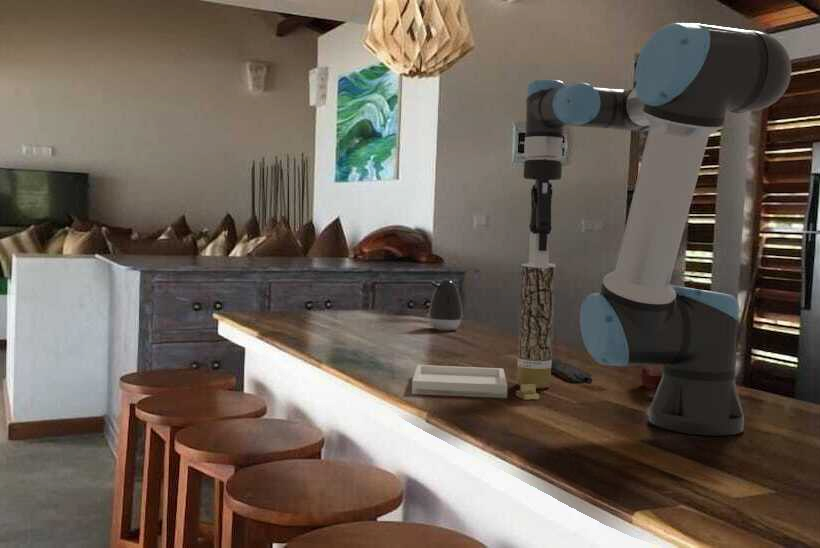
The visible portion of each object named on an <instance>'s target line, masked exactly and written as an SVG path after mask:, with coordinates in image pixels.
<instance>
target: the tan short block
mask: <svg viewBox="0 0 820 548" xmlns="http://www.w3.org/2000/svg"><path fill="white" fill-rule="evenodd" d="M515 395H516V397H518V398H520V399H522V400H524V401H525V400H528V401H529V400H531V399H532V400H533V399H534V400H539V399H540V394H539V393H537V389H536V384H520V386H519V390H515ZM532 400H531V401H532Z"/></svg>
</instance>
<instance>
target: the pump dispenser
mask: <svg viewBox="0 0 820 548" xmlns="http://www.w3.org/2000/svg"><path fill="white" fill-rule="evenodd" d="M430 286H432V287H434V288H435V289H434V292H433V293H432V296H431V300H430V305H429V310H428V318H429V322H430V324H431V326H432V327H433V328H434V329H435V330H437V331H443V332H444V331H445V332H447V331H448V332H449V331H454V330H456V329H457V328H459V326H460V324H461V322H462V319H463V316H464V314H463V307H462V300H461V296H460V292H459V290H458V288H457V286H456V284H455V282H454V281H453V280H451V279H448V278H446V279H443V280H440V281H439V282H438V283H436V282H434V281H431V282H430Z"/></svg>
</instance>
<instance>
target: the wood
mask: <svg viewBox="0 0 820 548" xmlns="http://www.w3.org/2000/svg"><path fill="white" fill-rule="evenodd" d="M551 359H552V362H551V373H552V372H553V374H555V375H557V376H558V377H560V378H561V379H564V380H565V381H566V382H568V383H570V384H576V385H577V384H584V383H586V384H592V381H593V378H592V376H591V374H590V373H588V372H587V371H586V370H583V369H581V368H579V367H577V366H576V365H573V364H570V363H569V364H568V362H566V361H562V360H560V359H559V358H556V357H554V358H551ZM583 382H584V383H583Z"/></svg>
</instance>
